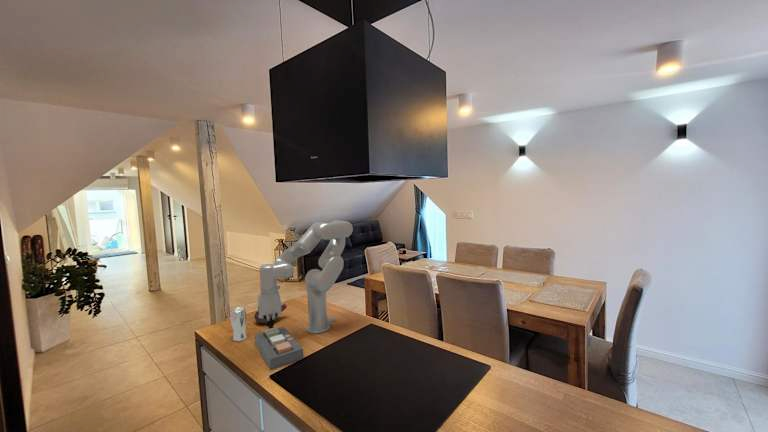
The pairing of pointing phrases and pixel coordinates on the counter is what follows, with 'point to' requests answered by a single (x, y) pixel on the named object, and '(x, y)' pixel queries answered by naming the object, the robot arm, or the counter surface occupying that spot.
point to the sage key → (271, 332)
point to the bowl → (269, 315)
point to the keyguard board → (271, 355)
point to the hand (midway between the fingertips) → (270, 327)
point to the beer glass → (238, 323)
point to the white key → (276, 340)
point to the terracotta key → (283, 348)
